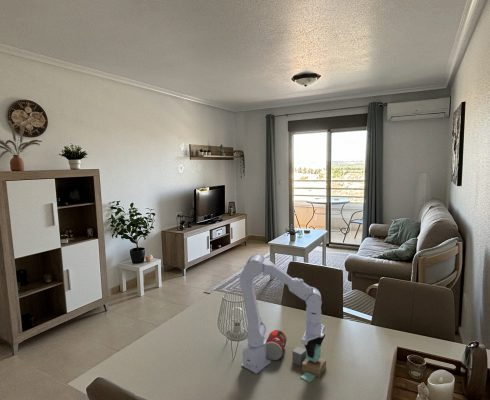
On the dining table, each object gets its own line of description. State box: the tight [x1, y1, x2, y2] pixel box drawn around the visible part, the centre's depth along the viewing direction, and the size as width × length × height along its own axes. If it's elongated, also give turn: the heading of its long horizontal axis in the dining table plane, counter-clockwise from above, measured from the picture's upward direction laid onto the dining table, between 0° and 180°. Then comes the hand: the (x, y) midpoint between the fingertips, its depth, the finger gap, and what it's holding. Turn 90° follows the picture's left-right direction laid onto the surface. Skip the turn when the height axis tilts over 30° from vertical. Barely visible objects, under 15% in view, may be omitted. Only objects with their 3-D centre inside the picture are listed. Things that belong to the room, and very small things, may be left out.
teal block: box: [306, 344, 322, 363], centre depth 123 cm, size 4×4×5 cm
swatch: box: [300, 372, 316, 383], centre depth 119 cm, size 4×4×1 cm
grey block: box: [291, 346, 306, 367], centre depth 128 cm, size 4×4×5 cm
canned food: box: [266, 329, 288, 361], centre depth 135 cm, size 8×8×11 cm
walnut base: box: [301, 357, 327, 378], centre depth 123 cm, size 7×7×4 cm
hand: (313, 354), depth 123 cm, fingers closed on teal block, 4 cm apart
